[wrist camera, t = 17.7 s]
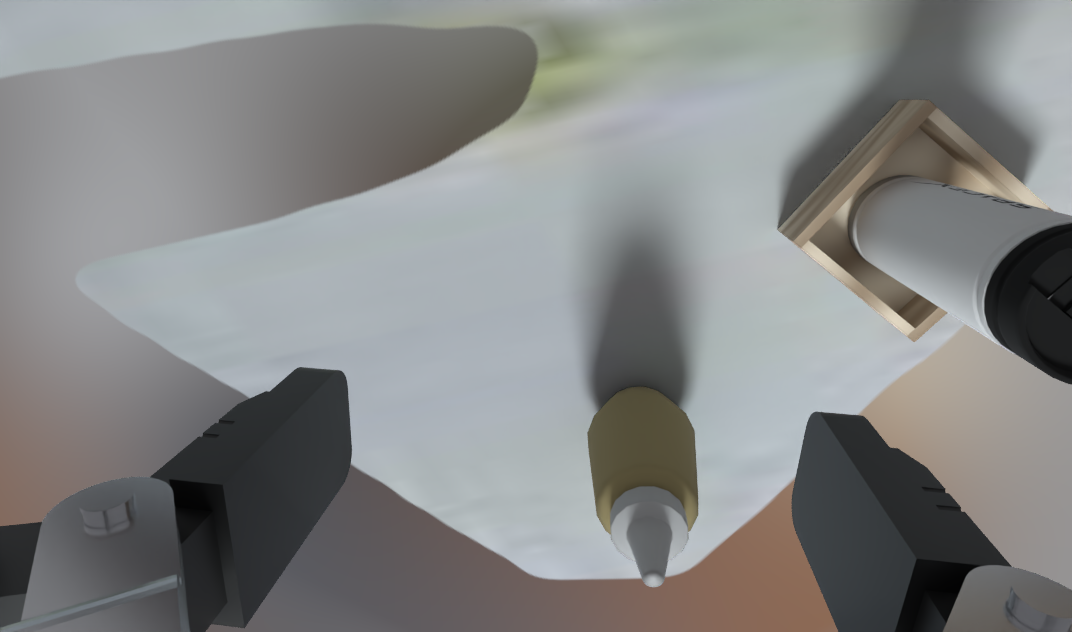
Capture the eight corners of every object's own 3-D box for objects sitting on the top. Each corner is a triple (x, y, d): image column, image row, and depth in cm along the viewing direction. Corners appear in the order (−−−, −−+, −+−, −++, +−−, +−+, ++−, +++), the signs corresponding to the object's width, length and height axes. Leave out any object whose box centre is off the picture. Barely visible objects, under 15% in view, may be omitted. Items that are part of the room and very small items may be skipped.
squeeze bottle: (570, 431, 52) (551, 593, 35) (621, 354, 49) (628, 489, 32) (654, 477, 52) (676, 658, 35) (709, 403, 50) (761, 561, 33)
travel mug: (895, 286, 44) (1109, 427, 25) (826, 228, 43) (993, 329, 24) (969, 216, 42) (1261, 313, 23) (897, 154, 41) (1140, 203, 22)
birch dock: (777, 229, 45) (792, 242, 41) (899, 99, 41) (928, 99, 37) (889, 322, 46) (914, 342, 42) (1017, 204, 42) (1057, 214, 38)
